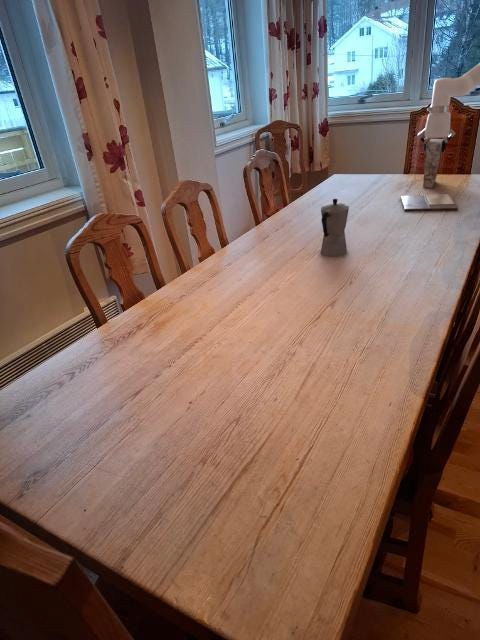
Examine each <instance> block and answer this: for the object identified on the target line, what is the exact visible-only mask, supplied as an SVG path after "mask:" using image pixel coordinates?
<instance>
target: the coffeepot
mask: <svg viewBox="0 0 480 640" xmlns="http://www.w3.org/2000/svg"><path fill="white" fill-rule="evenodd" d="M338 201H339V199H338V198H333V199H332V203H331V204H325V205H323V206H321V207H320V214H321V225H322V231H323V236H322V241H321V242H322V243H321V248H320V254H322V255H323V256H326V257H340V256H344V255H346V254H347V252H348V247H347V246H348V245H347V241H346V239H347V238H346V232H345V230H346V228H347V221H348V216H349V210H350V206H349V205H346V204H345V203H338Z"/></svg>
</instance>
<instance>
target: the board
mask: <svg viewBox="0 0 480 640" xmlns="http://www.w3.org/2000/svg"><path fill="white" fill-rule="evenodd" d="M400 201H401V205H402V207H403V211H404V212H446V211H447V212H449V211H451V212H453V211H455V212H456V211H459V210H458V209H459V208H458V206H457V205H456V203H455V201H454V200H453V198H452V197H451V195H450V194H449V193H445V194H441V193H440V194H423V195H422V194H420V195H419V194H417V195H414V194H413V195H400Z"/></svg>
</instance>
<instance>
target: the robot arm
mask: <svg viewBox="0 0 480 640" xmlns="http://www.w3.org/2000/svg"><path fill="white" fill-rule="evenodd" d="M479 86H480V62H478V64H476V65H475V66H474V67H472V68H471V69H470V70H468V71H467V72H466V73H463V75H461V76H458V77H453V78H451V77H441V78H436V79H435V80H434V82H433V88H432V94H431V103H430V106H429V107H426V112H429V113H428V114H427V118H426V120H425V121H426V122H425V127H424V128H423V129H422V130H421V131H420V132H418V134H417V137H418V138H419V139H420V141H421V142H422V143H423V146H422V151H423V152H424V154H426V145H427V143H428V142H429V141H430V139H441V138H442V139H443V142H442V149H441V153H445V151H446V149H447V143H448V142H450V140H451V139H452V138H453V137H454V136H455V135H456V131H454V130H453V129H452V128H451V112H449V111H450V105H451V98H452V97H454V98H455V97H456V98H461V97H464V96H466V95H467V94H469V93H470V92H471V91H473V90H474V89H476V88H477V87H479ZM423 136H424V137H425V138H424V137H423Z"/></svg>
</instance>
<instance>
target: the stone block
mask: <svg viewBox="0 0 480 640" xmlns="http://www.w3.org/2000/svg"><path fill="white" fill-rule="evenodd" d="M443 141H444V140H443V138H442V139H441V138H429V140H428V142H427V145H426V153H424V154H425V155H424V156H425V157H424V169H423V181H422V188H429V189H430V188H431V189H433V188H435V186H436V179H437V175H438V170H439V164H440V159H441V154H442V151H441V149H442V142H443Z"/></svg>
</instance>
